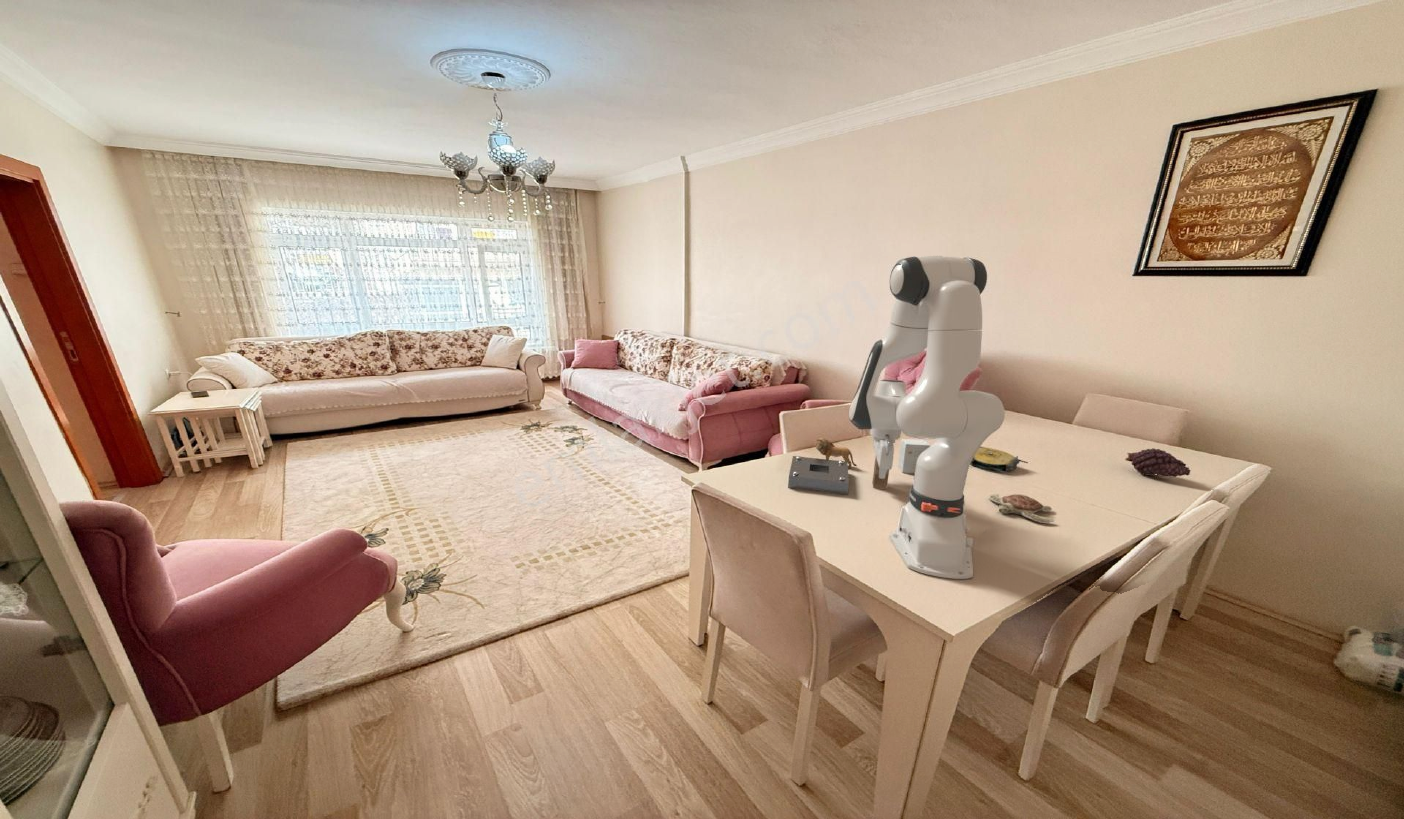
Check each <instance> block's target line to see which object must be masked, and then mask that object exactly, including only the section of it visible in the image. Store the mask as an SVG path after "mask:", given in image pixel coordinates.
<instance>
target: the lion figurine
mask: <svg viewBox="0 0 1404 819" xmlns="http://www.w3.org/2000/svg"><path fill="white" fill-rule="evenodd" d="M815 440H816V442H815V445H814V446H815V449H816V450H817V451H818V452H819V453H820V454H821V455H823V456H825V459H826V460H830V458H831V456H832V457H834V458H839V457H842V458H843V461H845V462H847V464H848V469H849V468H850V469H852V466H854V467H857V466H858V465H857V464H856V463H855V462H854V458H853V454H852V452H851V449H849V448H848V447H844V446H842V447H841V446H840V447H839V446H836V445H834V444H833V443H832V442H831V441H828V439H826V438H823V437H820V438H817V439H815ZM849 456H850V457H849Z"/></svg>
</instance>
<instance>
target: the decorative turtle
mask: <svg viewBox="0 0 1404 819" xmlns="http://www.w3.org/2000/svg"><path fill="white" fill-rule="evenodd" d="M999 495H1000V494H998V493H994V494H990V495H989V496H988V498H989V500H991V501H992V502H994V503H995V504H998V512H999V513H1000V514H1010V513H1011V514H1015V515H1021V516H1022V517H1025V518H1027V519H1030V520H1032V521H1035V522H1038V523H1040V524H1041V523H1042V524H1050V523H1053V522H1054V519H1053V518H1049V517H1044V516H1040V515H1038V514H1035V513H1037V512H1039V511H1042V512H1043V511H1044V512H1051V511H1052V510H1053V509H1052V507H1051V506H1050V505H1049V506H1048V505H1044V504H1042V503H1040V502H1039V501H1037V500H1036V499H1035V498H1033V497H1030V496H1028V495H1024V494H1017V493H1016V494H1009V495H1007V496H1006V495H1005V496H1003V497H1002V498H1001V497H999Z"/></svg>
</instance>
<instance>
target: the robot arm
mask: <svg viewBox="0 0 1404 819" xmlns="http://www.w3.org/2000/svg"><path fill="white" fill-rule="evenodd" d="M890 272H891V273H890V275H889V288H890V289H889V290H890V293H891V294H892V296H894V298H895V300H894V304H893V306H892V310H891V316H890V322H889V326H888V329H887V331H886V333H885V334H884V336H883V337H881V339H879V340H877V341H875V343H874V344H873V345H872V347H871V350H870V352H869V355H868V357H867V360H866V363H865V366H864V368H863V371H862V375H861V378H860V381H859V383H858V387H857V390H856V392H855V394H854V395H853V396H854V397H853V399H852V401H851V404H850V406H849V410H848V414H849V415H848V416H849V417H848V418H849V421H850V422H851V424H852V425H853V426H855V428H856V429H858V430H869V433H870V436H872V437H873V439H872V440H873V449H874V453H875V457H876V458H877V462H878V466H879V468H880V470H879V478H881V479H884V478H885V475H886V472H887V470H889V471H890V470H892V467H893V462H894V452H895V443H896V441H897V440H900V438H901V434H902V433H903V434H904V435H905V436H906V437H909V438H913V439H918V440H934V442H933V443H932V444H931V445H930V447H929V448H928V449H926V450H925V451H923V452H922V453H921V454H920V455H919V457H918V459H917V464H916V470H915V473H914V478H913V483H912V484H911V486H910V490H909V497H908V498H909V499H908V502H907V503H906V504H905V505H903V506H902V507H901V509H900V512H899V518H898V524H897V530H893V531H890V532H889V535H888V536H889V539H890V541H891V542H892V543H893V545H894V547H895V548H896V551H897V553H898V554H899V555H900V558H902V560H903V562H904V564H905V566H906V567H907V568H909V569H911V570H913V571H915V572H918V573H922V574H923V575H924V574H925V575H928V576H932V577H939V578H944V579H953V580H966V579H971V578H974V567H973V566H974V565H973V557H972V548H973V545H974V538H973V537H969V536H966V532H969V531H970V526H969V525H967V524H966V518H967V517H966V516H967V515H966V514H965V513H964V508H965V495H964V489H965V485H966V482H967V476H968V472H969V469H970V466H971V465H970V463H971V461H972V459H973V457H974V455H975V454H976V452H977V450H978V449H979V447H980V446H981V447H982V444H983V443H984V442H985V441H986V440H987V439H988V437H989V436H991V435H992V434H994V433H995V432H996V431H998V430H999V429H1000V428H1001V427H1002V425H1003V423H1004V420H1005V417H1006V416H1005V415H1006V414H1005V413H1006V412H1005V407H1004V404H1003V402H1002V400H1001V399H1000V398H999V397H998V396H997V395H995V394H993V393H990V392H985V391H980V390H973V389H971V390H970V389H969V390H960V388H961V386H962V383H963V382H964V380H965V379H966V377H968V375H969V374H971V373H973V372H974V371H975V370H976V369H977V368H978V367H979V366H980V363H981V355H982V354H981V352H982V336H983V308H982V299H981V294H982V293H983V292H984V290H985V289H986V286H987V282H988V281H987V280H988V272H987V269H986V266H985V264H984V263H983V262H982V260H981V261H980V260H979V259H976V258H972V257H963V258H962V257H956V256H943V255H926V256H919V257H917V256H909V257H905V258H902V259H899V260H898V261H897V262H896V263H895V265H894V266H893V267H892V269H891V271H890ZM925 350H926V354H925V361H924V365H923V366H924V368H923V369H922V372H921V375H920V376H919V379H918V381H917V383H916V384H915V386H914V388H913V389H912V390H911V391H910V392H909V393H908V394H907V384H906V382H905V381H903V380H899V379H882V380H879V378H880V376H881V374H882V372H883V371H884V369H886V368H887V367H888V366H890V365H892V364H894V363H897V362H900V361H903V360H907V359H911V358H913V357H915V356H918V355H920V354H922V353H923V352H924V351H925ZM875 389H876V391H875ZM874 392H875V394H874Z"/></svg>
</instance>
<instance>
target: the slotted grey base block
mask: <svg viewBox="0 0 1404 819" xmlns="http://www.w3.org/2000/svg"><path fill="white" fill-rule="evenodd" d="M848 466H849V464H848V463H847V462H845V460H837V459H835V460H834V459H829V460H826V458H815V457H807V456H800V455H793V456H792V460H791V464H790V469H789V472H788V473H789V474H788V482H787V484H788V485H787V488H788V489H795V490H804V491H805V490H806V491H812V492H813V491H814V492H819V493H820V492H822V493H828V494H829V493H830V494H836V495H846V496H848V495H849V487H850V478H849V468H848Z"/></svg>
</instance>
